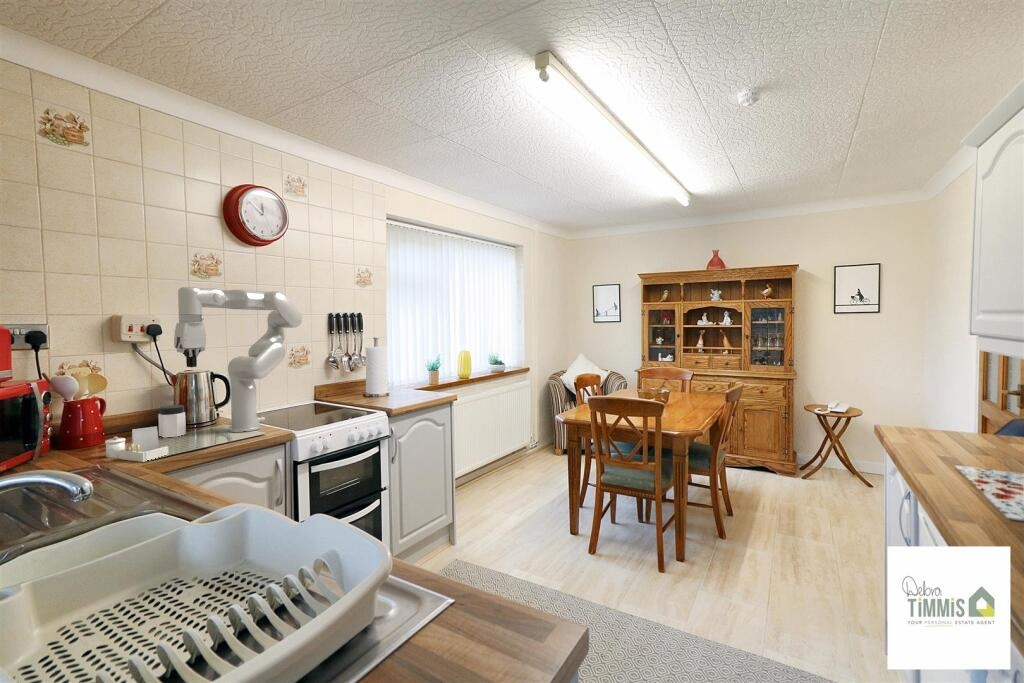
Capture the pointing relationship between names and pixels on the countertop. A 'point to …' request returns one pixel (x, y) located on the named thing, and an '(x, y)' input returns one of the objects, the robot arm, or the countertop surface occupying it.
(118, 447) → the sugar pot
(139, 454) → the header block
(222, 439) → the countertop surface
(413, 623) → the countertop surface
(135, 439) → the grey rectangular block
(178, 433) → the jar
